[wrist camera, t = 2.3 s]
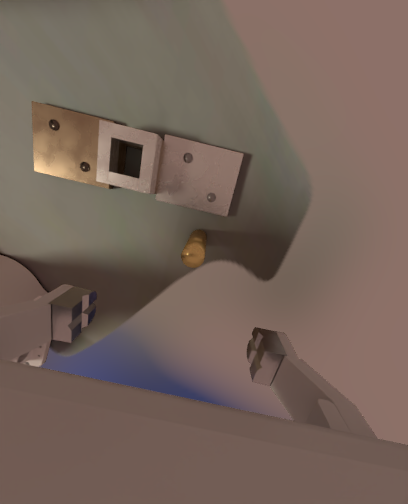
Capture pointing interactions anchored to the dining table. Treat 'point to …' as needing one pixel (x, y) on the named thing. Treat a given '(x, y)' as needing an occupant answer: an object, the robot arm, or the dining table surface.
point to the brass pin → (194, 249)
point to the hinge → (152, 164)
